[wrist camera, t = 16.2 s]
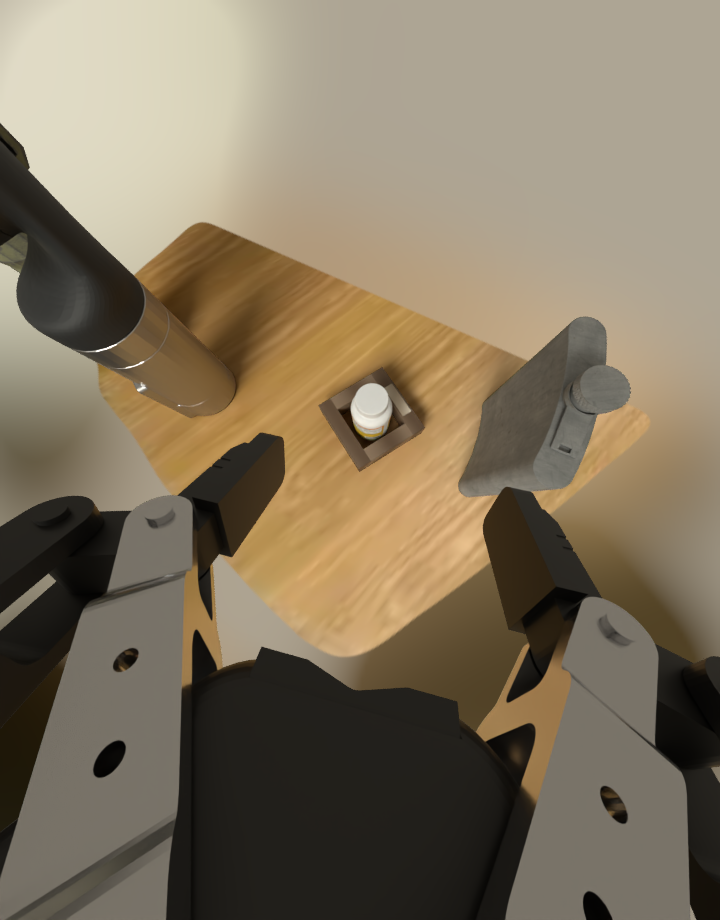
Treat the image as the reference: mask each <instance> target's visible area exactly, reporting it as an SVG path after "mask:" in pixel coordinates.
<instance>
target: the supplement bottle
mask: <svg viewBox="0 0 720 920" xmlns="http://www.w3.org/2000/svg"><path fill="white" fill-rule="evenodd" d="M351 414H352V419H353V424H354V428H355V431H356V433H357V434H358V435H359V436H360V437H361V438H363V439H365V440H370V441H373V440H377V439H380V438H381V437H383V436H384V435H385V434H386V432H387V430H388V427H389V423H390V419H391V415H392V402H391V399H390V398H389V396H388V393H387V391H386V390H385V389H384V388H383V387H382V386H381V385H379V384H375V383H369V384H366V385H364V386H362V387H361V388H360V389H359V390H358V391H357V393H356V395H355V397H354V398H353V400H352V403H351Z"/></svg>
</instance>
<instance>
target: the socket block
mask: <svg viewBox="0 0 720 920" xmlns="http://www.w3.org/2000/svg"><path fill="white" fill-rule="evenodd" d="M369 383H375V384H379V385H381V386H382V387H383V388H384V389H385V390H386V391H387V393H388V396H389V398H390V399H391V402H392V415H393V417H394V418H395V419H396V421H397V422H398V424H399V425H400V427H398V428H397V429H395V430H394V431H392V432H390V433H389V434H387V435H386V436H384V437H382V438H381V439H379V440H377V441H376V442H374V443H373V444H371V445H369V446H368V447H366V448H365V449H363V448H362V447H361V445H360V443H359V442H358V440H357V439H356V437H355V436H354V434H353V433H352V431H351V430H350V428H349V426H348V425H347V423H346V422H345V420H344V419H343V417H342V416H341V415H343V414H345V413H346V412H348V411H350V410H351V403H352V400H353V398H354V397H355V395H356V393H357V391H358V390H359V389H360V388H361V387H362V386H364V385H366V384H369ZM319 407H320V409H321V411H322V413H323V415H324V416H325V418H326V420H327V421H328V423H329V424H330V426H331V428H332V429H333V431H334V432H335V434H336V435H337V437H338V439H339V440H340V442H341V443H342V445H343V446H344V448H345V450H346V451H347V453H348V454H349V456H350V458H351V459H352V461H353V462H354V464H355V465H356V467H357V469H358V470H359V472H360V471H362V470H363V469H365V468H366V467H368V466H370V465H371V464H373V463H374V462H376V461H378V460H379V459H381V458H382V457H384V456H386V455H387V454H389V453H390V452H392V451H393V450H395V449H397V448H398V447H400V446H401V445H403V444H405V443H406V442H408V441H409V440H411V439H413V438H414V437H416V436H417V435H419V434H421V432H422V431H423V430H424V428H425V427H424V425H423V424H422V422H421V421H420V420H419V418H418V417H417V415H416V414H415V413H414V411H413V410H412V408H411V407H410V405H409V404H408V403H407V401H406V400H405V398H404V397H403V396H402V394H401V393H400V391H399V390H398V389H397V387H396V386H395V384H394V383H393V382H392V380H391V379H390V377H389V376H388V374H387V373H386V372H385V370H384V369H383V367H382V368H380V369H378V370H377V371H375V372H373V373H372V374H370V375H368V376H367V377H365V378H363V379H362V380H360V381H358V382H357V383H355V384H353V385H352V386H350V387H348V388H347V389H345V390H343V391H342V392H340V393H338V394H337V395H335V396H333V397H332V398H330V399H328V400H327V401H325V402H323V403H322V404H320V405H319Z"/></svg>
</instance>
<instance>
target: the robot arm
mask: <svg viewBox="0 0 720 920" xmlns="http://www.w3.org/2000/svg"><path fill="white" fill-rule="evenodd" d="M19 233H25V234H27V239H28V246H27V254H26V258H25V261H24V264H23V267H22V269H21V272H20V275H19V278H18V283H17V290H16V291H17V302H18V305H19V308H20V311H21V313H22V314H23V316H24V317H25V319H26V320H27V321H28V322H29V323H30V324H31V325H32V326H33V327H34V328H36V329H37V330H38V331H40V332H41V333H43V334H44V335H46V336H48V337H50V338H52V339H54V340H55V341H57V342H59V343H61V344H63V345H65V346H67V347H69V348H71V349H72V350H74V351H76V352H78V353H80V354H82V355H84V356H86V357H87V358H89V359H91V360H93V361H95V362H97V363H99V364H101V365H103V366H105V367H106V368H108V369H110V370H112V371H114V372H116V373H118V374H120V375H122V376H123V377H125V378H127V379H129V380H131V381H133V383H134V385H135V387H136V389H137V391H138V392H139V393H141V394H143V395H145V396H147V397H149V398H151V399H153V400H155V401H157V402H159V403H161V404H163V405H165V406H167V407H169V408H171V409H173V410H175V411H177V412H179V413H181V414H183V415H185V416H187V417H189V418H193V417H194V416H197V415H200V416H208V415H213V414H216V413H218V412H220V411H222V410H223V409H224V408H225V407H227V406H228V404H229V403H230V402H231V400H232V398H233V397H234V394H235V390H236V383H235V378H234V376H233V374H232V372H231V371H230V370H229V369H228V368H227V367H226V366H225V365H224V364H223V363H222V362H221V361H220V360H219V359H218V358H217V357H216V356H215V355H214V354H213V353H212V352H211V351H210V350H209V349H208V348H207V347H206V346H205V345H204V344H203V343H202V342H201V341H200V340H199V339H198V338H197V337H196V336H195V335H194V334H193V333H192V332H191V331H190V330H189V329H188V328H187V327H185V326H184V325H183V324H182V323H181V322H180V321H179V320H178V319H177V318H176V317H175V316H174V315H173V314H172V313H171V312H170V311H169V310H168V309H167V308H166V307H165V306H164V305H163V304H162V303H161V302H160V301H159V300H158V299H157V298H156V297H155V296H154V295H153V294H152V293H151V292H150V291H149V290H148V289H147V288H146V287H145V286H144V285H143V284H142V283H141V282H140V281H139V280H138V279H137V278H136V277H135V276H134V275H133V274H132V273H130V272H129V271H128V270H127V269H126V268H125V267H124V266H123V265H122V264H121V263H120V262H119V261H118V260H117V259H116V258H115V257H114V256H112V255H111V254H110V253H109V252H108V251H107V250H106V249H105V248H104V247H103V246H102V245H101V244H100V243H99V242H98V241H97V240H96V239H95V238H94V237H93V236H92V235H91V234H90V233H89V232H88V231H87V230H86V229H85V228H84V227H83V226H82V225H81V224H80V223H79V222H78V221H77V220H76V219H75V218H74V217H73V216H72V215H71V214H69V212H68V211H67V210H66V209H65V208H64V207H63V206H62V205H61V204H60V203H59V202H58V201H57V200H56V199H55V198H54V197H53V196H52V195H51V194H50V193H49V191H48V190H47V189H46V188H44V186H43V185H42V184H41V183H40V182H39V181H38V180H37V179H36V178H35V177H34V176H33V175H32V174H31V173H30V172H29V171H28V169H27V168H26V167H25V166H24V165H23V164H22V163H21V162H20V161H19V160H18V159H17V158H16V157H15V156H14V155H13V154H12V153H11V152H10V151H9V149H8V148H7V147H6V146H5V145H4V144H3V143H2V142H1V141H0V246H1V245H3V244H4V243H6V242H7V241H9V240H10V239H12V238H13V237H14V236H16V235H17V234H19ZM284 475H285V457H284V440H283V438H282V437H280V436H275V435H271V434H266V433H259V434H258V435H257V436H256V437H255V438H254V439H253V440H252V441H251V442H250V443H242V444H240V445H238V446H236V447H233V448H231V449H230V450H229V451H228V452H226V453H225V454H224V455H223V456H222V457H221V459H218V460H217V461H216V462H215V463H214V464H213V465H212V467H209V468H208V469H207V470H206V471H205V472H204V473H202V474H201V475H200V476H199V477H198V478H197V479H196V480H195V481H193V482H192V483H191V484H190V485H189V486H188V487H187V488H185V489H184V490H183V491H182V492H181V493H180V494H179V495H177V496H174V495H170V496H162V497H158V498H154V499H151V500H149V501H146V502H144V503H143V504H141V505H139V506H138V507H136V508H135V509H134V510H133V511H106V512H99V510H98V509H97V507H96V506H95V504H94V503H93V501H92V500H90V499H89V498H87V497H83V496H67V497H61V498H56V499H53V500H49V501H46V502H43V503H41V504H38V505H36V506H34V507H32V508H30V509H28V510H27V511H25V512H23V513H22V514H20V515H18V516H17V517H15V518H14V519H12V520H10V521H9V522H7V523H6V524H4V525H2V526H1V527H0V613H1V612H3V611H4V610H5V609H6V608H7V607H9V606H10V605H11V604H12V603H13V602H15V601H16V600H17V599H18V598H19V597H21V596H22V595H23V594H24V593H25V592H27V591H28V590H29V589H30V588H31V587H33V586H34V585H35V584H36V583H37V582H39V581H40V580H41V579H42V578H43V577H45V576H46V575H47V574H48V573H49V574H50V575H51V576H52V577H53V578H54V579H55V580H56V582H55V583H54V584H53V585H52V586H51V587H50V588H48V589H47V590H46V591H45V592H44V593H43V594H42V595H41V596H39V597H38V598H37V599H36V600H35V601H34V602H32V603H31V604H30V605H29V606H28V607H27V608H26V609H24V610H23V611H22V612H21V613H20V614H19V615H18V616H17V617H15V618H14V619H13V620H12V621H11V622H10V623H9V624H7V625H6V626H5V627H4V628H3V629H2V630H1V631H0V728H1V727H2V726H3V725H4V724H5V723H6V722H7V720H8V719H9V718H10V717H11V716H12V715H13V713H15V711H16V710H17V709H18V708H19V707H20V706H21V705H22V704H23V702H24V701H25V700H26V699H27V698H28V697H29V696H30V695H31V693H32V692H33V691H34V690H35V689H36V688H37V687H38V686H39V684H40V683H41V682H42V681H43V680H44V679H45V678H46V677H47V675H48V674H49V673H50V672H51V671H52V670H53V668H55V666H56V665H57V664H58V663H59V662H60V661H61V660H62V659H63V657H64V656H65V655H66V654H67V653H68V652H69V651H70V652H69V655H68V659H67V662H66V665H65V668H64V672H63V675H62V678H61V682H60V685H59V688H58V691H57V695H56V698H55V701H54V705H53V708H52V711H51V714H50V717H49V721H48V724H47V727H46V730H45V734H44V737H43V741H42V744H41V747H40V750H39V753H38V756H37V760H36V763H35V766H34V770H33V773H32V776H31V779H30V783H29V786H28V789H27V793H26V796H25V799H24V802H23V805H22V809H21V812H20V816H19V818H18V819H17V820H16V821H14V822H13V823H12V824H10V825H9V826H8V827H6V828H5V829H4V830H3V831H1V832H0V920H690V905H691V908H692V910H693V913H694V915H695V918H696V920H720V783H719V781H718V780H717V778H716V776H715V774H714V773H713V771H712V769H711V767H719V766H720V657H715V656H713V657H709V658H706V659H704V660H701V661H699V662H696V663H692V662H690V661H688V660H686V659H684V658H682V657H680V656H678V655H676V654H674V653H672V652H670V651H668V650H666V649H664V648H662V647H660V646H658V645H656V644H654V642H653V640H652V639H651V637H650V635H649V634H648V633H647V631H646V630H645V629H644V628H643V627H642V626H641V624H640V623H639V622H637V621H636V620H635V619H634V618H633V617H632V616H631V615H630V614H629V613H627V612H626V611H625V610H623V609H622V608H620V607H618V606H617V605H615V604H613V603H611V602H610V601H607V600H605V599H602V597H601V596H600V594H599V592H598V590H597V589H596V587H595V585H594V584H593V582H592V580H591V578H590V577H589V575H588V573H587V572H586V570H585V568H584V567H583V565H582V563H581V561H580V560H579V558H578V556H577V555H576V553H575V552H573V548H572V546H571V544H570V543H569V541H568V540H566V536H565V534H564V533H563V531H562V529H561V528H560V526H559V524H558V523H557V522H556V521H555V520H554V519H553V518H552V517H551V516H550V515H549V514H548V513H547V512H546V511H545V510H543V509H541V507H540V505H539V503H538V502H537V500H536V498H535V496H534V494H533V493H532V492H530V491H525V490H521V489H516V488H511V487H505V488H503V489H502V491H501V492H500V494H499V496H498V497H497V499H496V500H495V502H494V504H493V505H492V507H491V509H490V510H489V512H488V513H487V515H486V517H485V519H484V523H483V534H484V538H485V542H486V546H487V550H488V553H489V557H490V561H491V564H492V568H493V572H494V576H495V580H496V583H497V587H498V591H499V595H500V599H501V603H502V606H503V610H504V614H505V618H506V621H507V625H508V629H509V630H513V631H516V632H520V633H524V634H526V636H527V639H528V642H529V643H527V644H526V645H525V646H524V647H523V649H522V651H521V653H520V655H519V657H518V659H517V662H516V664H515V666H514V668H513V670H512V672H511V674H510V676H509V679H508V681H507V683H506V685H505V687H504V689H503V692H502V693H501V696H500V698H499V700H498V702H497V704H496V705H495V707H494V708H493V710H492V711H491V712H490V713H489V714H488V715H487V717H486V718H485V719H484V720H483V722H482V723H481V725H480V726H479V728H478V730H477V732H475V731H474V730H473V729H471V728H470V727H469V726H468V725H466V724H465V723H464V722H463V721H462V720H460V719H459V714H458V704H457V701H453V700H449V699H446V698H442V697H439V696H435V695H432V694H428V693H425V692H421V691H417V690H414V689H411V688H393V689H378V690H362V691H358V690H353V689H351V688H349V687H347V686H346V685H344V684H343V683H341V682H340V681H339V680H337V679H335V678H334V677H333V676H331V675H330V674H328V673H327V672H325V671H324V670H322V669H321V668H319V667H318V666H316V665H315V664H313V663H312V662H310V661H309V660H307V659H303V658H300V657H296V656H293V655H289V654H285V653H282V652H278V651H274V650H271V649H268V648H264V647H261V649H260V652H259V654H258V656H257V659H256V660H248V661H243V662H238V663H235V664H232V665H229V666H226V667H223V665H222V654H221V646H220V641H219V636H218V631H217V623H216V607H215V593H214V592H215V591H214V574H213V565H212V563H213V561H214V560H215V559H216V557H217V556H218V555H219V554H221V555H225V556H229V557H233V555H234V554H235V552H236V551H237V549H238V548H239V546H240V545H241V543H242V542H243V541H244V539H245V538H246V536H247V535H248V533H249V532H250V530H251V529H252V527H253V526H254V524H255V523H256V521H257V520H258V518H259V517H260V515H261V514H262V513H263V511H264V510H265V508H266V507H267V505H268V504H269V502H270V501H271V499H272V498H273V496H274V495H275V493H276V492H277V490H278V489H279V488H280V486H281V484H282V482H283V479H284Z"/></svg>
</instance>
